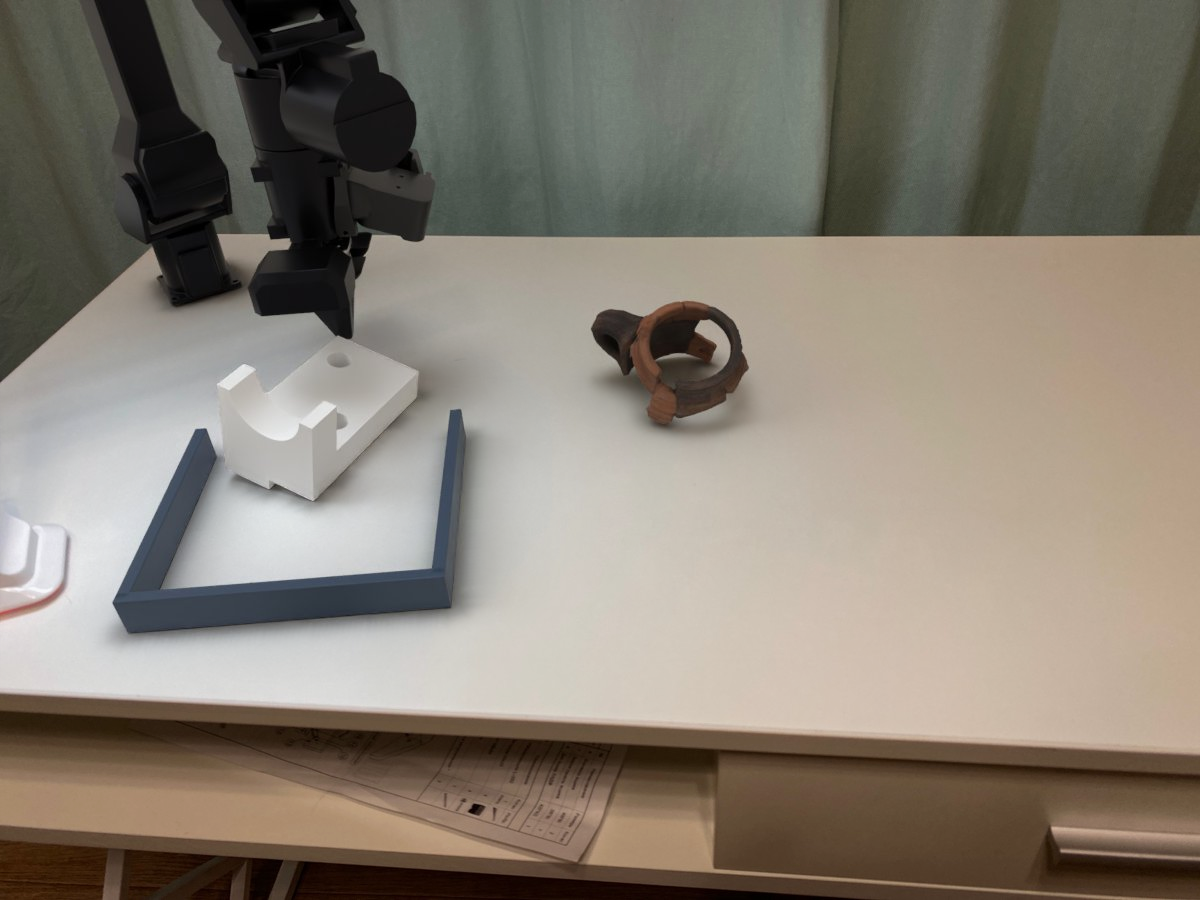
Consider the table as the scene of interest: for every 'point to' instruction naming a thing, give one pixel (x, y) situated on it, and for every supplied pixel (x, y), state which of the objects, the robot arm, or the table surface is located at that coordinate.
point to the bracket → (311, 416)
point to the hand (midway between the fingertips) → (346, 337)
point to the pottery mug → (665, 335)
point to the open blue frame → (283, 598)
